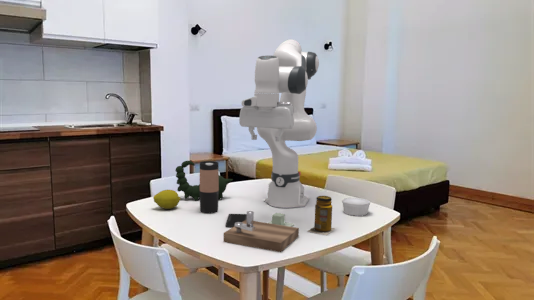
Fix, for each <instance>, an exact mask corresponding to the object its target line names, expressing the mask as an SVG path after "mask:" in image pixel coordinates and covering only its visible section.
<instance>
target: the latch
mask: <svg viewBox="0 0 534 300" xmlns="http://www.w3.org/2000/svg"><path fill="white" fill-rule="evenodd" d="M254 213H255V212H254V211H252V210H247V211H246V214H247V224H243V223H242V222H236V223H235V228H241V229H245V230H249V231H254V230H255V226H253V221H255V220H254V218H255V217H254Z"/></svg>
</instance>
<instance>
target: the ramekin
mask: <svg viewBox="0 0 534 300" xmlns="http://www.w3.org/2000/svg"><path fill="white" fill-rule="evenodd" d="M341 203H342V209H343V212H344V214H346V215H348V214H349V215H348V216H352V215H355V216H354V217H362V216H361V215H364V216H366V215H367V214H368V212H369V209H370V204H371V201H370V200H369V199H366V198H363V197H362V198H361V197H347V198H343V199H342V200H341Z"/></svg>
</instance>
